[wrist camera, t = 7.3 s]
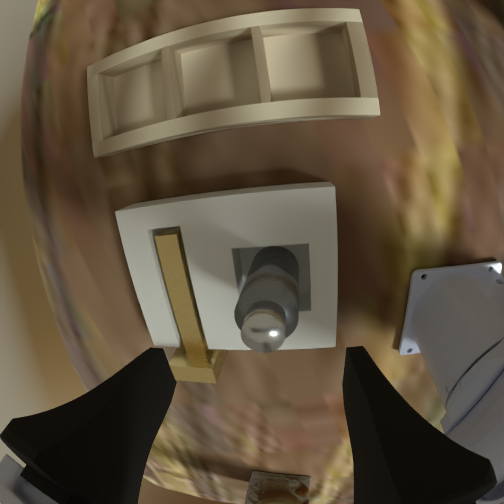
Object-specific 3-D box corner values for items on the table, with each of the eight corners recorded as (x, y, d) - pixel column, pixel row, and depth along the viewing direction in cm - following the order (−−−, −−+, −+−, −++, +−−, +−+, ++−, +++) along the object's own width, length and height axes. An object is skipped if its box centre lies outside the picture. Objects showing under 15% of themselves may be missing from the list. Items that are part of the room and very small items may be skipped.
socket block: (329, 181, 17) (334, 186, 15) (332, 326, 21) (335, 346, 19) (133, 203, 20) (114, 211, 17) (165, 328, 23) (154, 345, 21)
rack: (351, 24, 13) (358, 9, 11) (368, 118, 15) (380, 114, 13) (106, 72, 16) (86, 67, 14) (114, 155, 18) (94, 157, 16)
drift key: (201, 223, 19) (180, 241, 16) (227, 351, 23) (216, 383, 19) (155, 228, 20) (129, 246, 16) (188, 350, 23) (173, 379, 20)
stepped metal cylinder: (297, 244, 18) (296, 304, 11) (300, 287, 19) (299, 360, 13) (248, 247, 19) (221, 307, 12) (254, 289, 20) (233, 361, 13)
